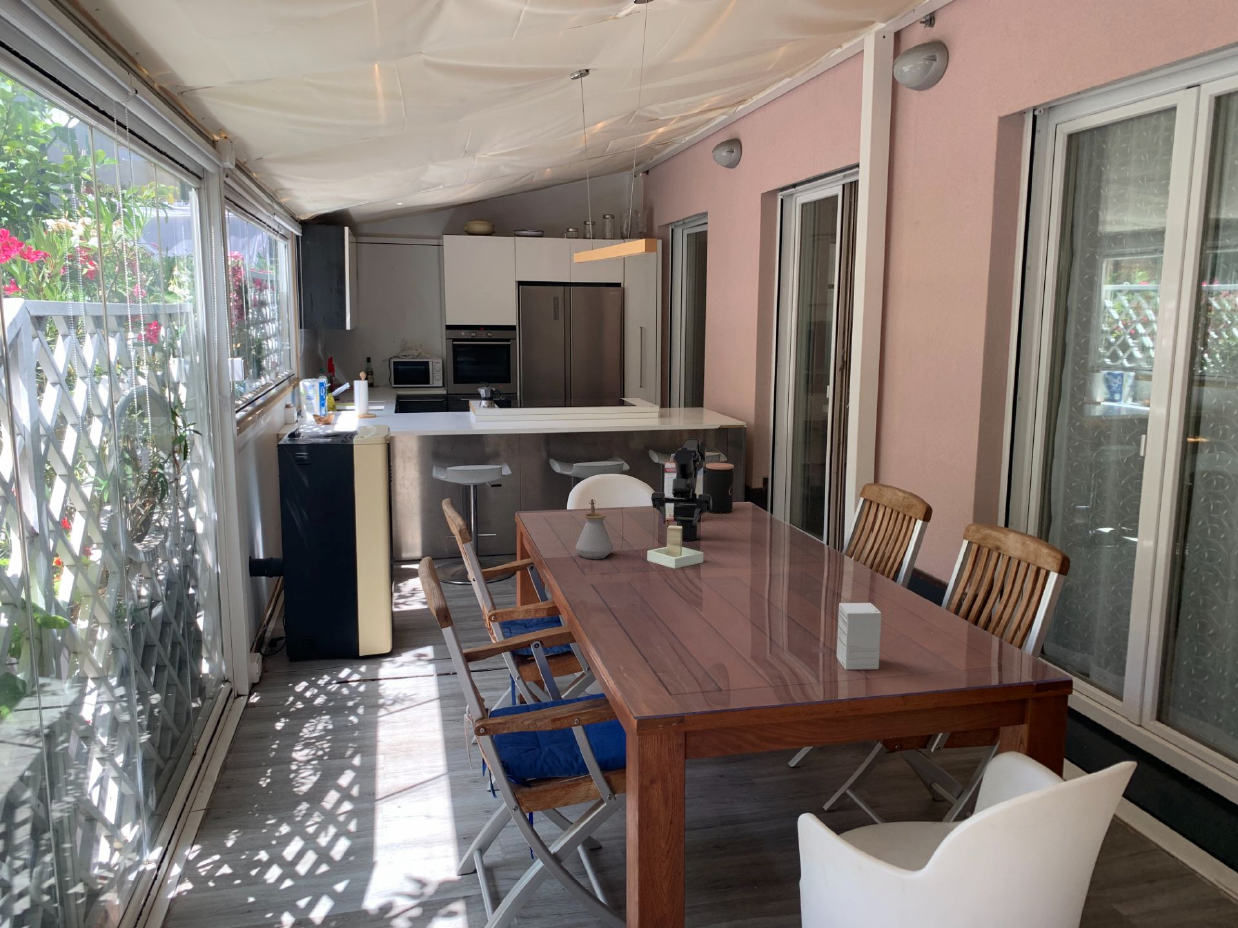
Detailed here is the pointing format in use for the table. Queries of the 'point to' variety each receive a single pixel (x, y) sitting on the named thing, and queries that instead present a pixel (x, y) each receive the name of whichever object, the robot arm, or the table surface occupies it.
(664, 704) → the table surface
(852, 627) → the supplement box
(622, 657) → the table surface
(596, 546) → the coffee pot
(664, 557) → the tray
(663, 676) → the table surface
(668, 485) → the cracker box
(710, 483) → the coffee jar
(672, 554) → the handle block
